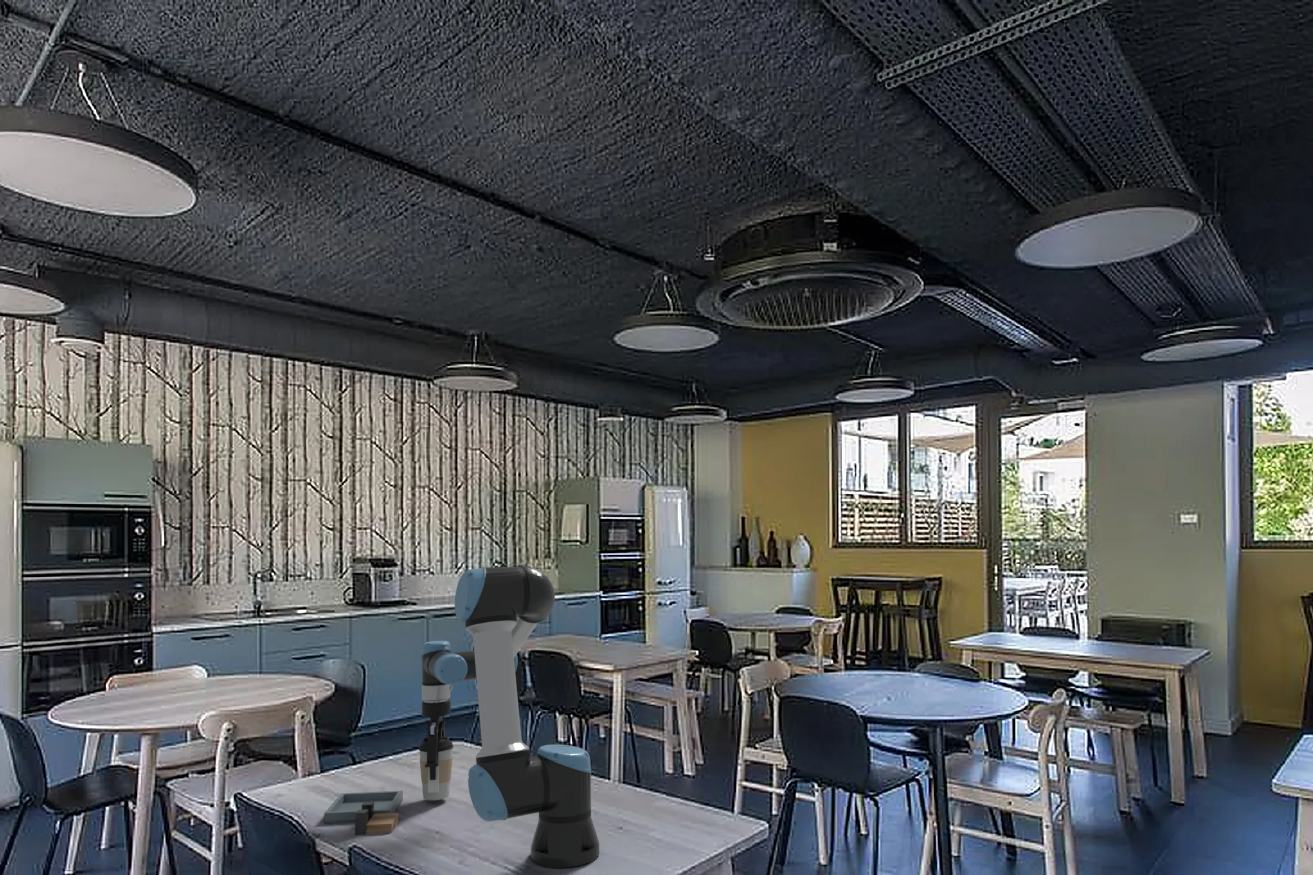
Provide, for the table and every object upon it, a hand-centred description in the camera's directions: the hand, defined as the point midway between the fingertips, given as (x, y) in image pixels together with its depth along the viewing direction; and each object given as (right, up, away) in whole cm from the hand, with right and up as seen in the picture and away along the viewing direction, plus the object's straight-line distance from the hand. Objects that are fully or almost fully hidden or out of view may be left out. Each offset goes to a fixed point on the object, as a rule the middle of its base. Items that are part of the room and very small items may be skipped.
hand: (436, 786), depth 234 cm
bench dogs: (-12, -2, -20) cm, 24 cm away
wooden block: (-8, -2, -20) cm, 21 cm away
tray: (-17, -3, -7) cm, 18 cm away
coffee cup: (0, -3, 0) cm, 3 cm away
